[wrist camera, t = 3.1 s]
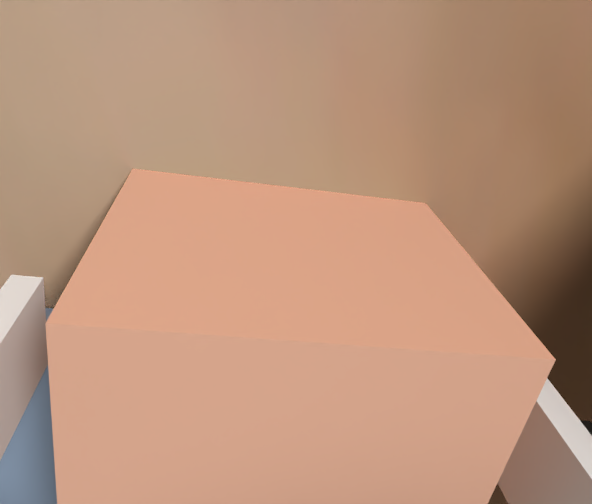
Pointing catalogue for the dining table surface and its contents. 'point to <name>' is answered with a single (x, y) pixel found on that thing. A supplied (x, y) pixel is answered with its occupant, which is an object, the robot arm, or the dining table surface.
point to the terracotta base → (282, 353)
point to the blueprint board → (31, 452)
